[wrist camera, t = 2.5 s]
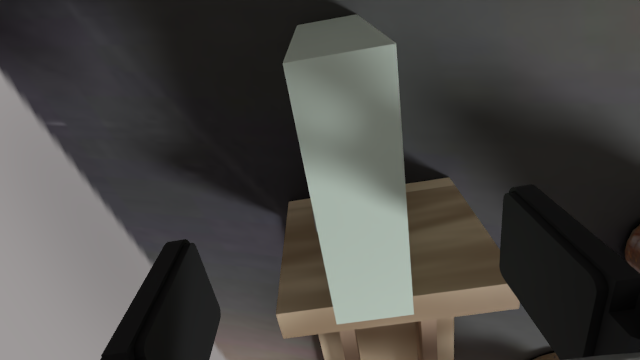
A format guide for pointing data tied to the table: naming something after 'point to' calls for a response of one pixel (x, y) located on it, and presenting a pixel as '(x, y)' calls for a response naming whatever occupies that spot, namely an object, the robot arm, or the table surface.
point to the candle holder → (548, 357)
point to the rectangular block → (353, 163)
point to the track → (426, 271)
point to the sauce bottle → (633, 249)
